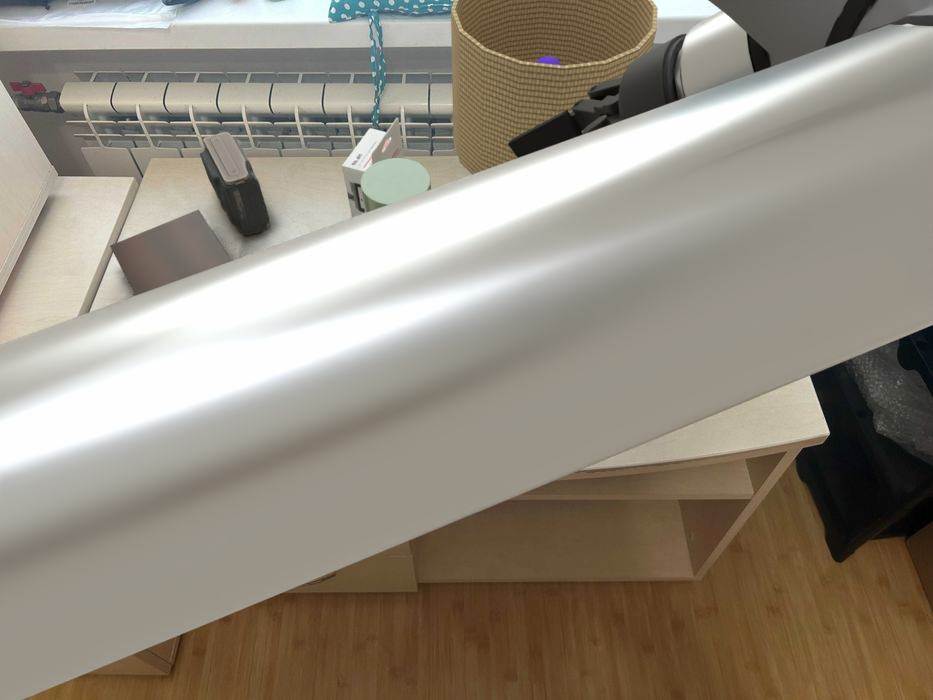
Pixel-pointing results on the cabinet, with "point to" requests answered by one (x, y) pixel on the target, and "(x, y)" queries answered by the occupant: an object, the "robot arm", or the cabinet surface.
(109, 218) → the cabinet surface
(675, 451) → the cabinet surface
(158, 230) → the walnut block
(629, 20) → the desk lamp
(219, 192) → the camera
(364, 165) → the ink box
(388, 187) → the sage canister
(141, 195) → the cabinet surface
